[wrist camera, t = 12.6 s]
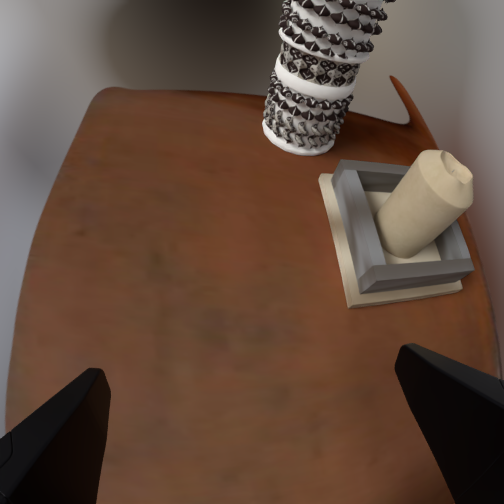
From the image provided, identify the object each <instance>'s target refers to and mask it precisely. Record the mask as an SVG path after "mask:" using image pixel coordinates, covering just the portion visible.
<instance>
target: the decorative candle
mask: <svg viewBox="0 0 504 504" xmlns="http://www.w3.org/2000/svg"><path fill="white" fill-rule="evenodd" d="M382 1H384V0H287V1H284V2H283V3H282V6H283V7H282V12H283V13H284V14H283V15H282V16H281V17H280V19H281V20H280V21H279V25H280V27H281V28H280V30H279V34H280V36H281V38H282V39H283V43H282V45H281V53H280V55H279V56H278V58H277V61H276V67H275V69H273V71H272V75H270V80H271V83H270V87H269V88H268V92H269V94H268V96H267V100H266V101H265V106H266V108H265V111H264V113H263V116H264V120H263V123H262V125H263V130H264V134H265V135H266V136H267V137H268V139H269V140H270V141H271V142H272V143H273V144H274V145H276V146H278V147H279V148H281V149H283V150H284V151H287V152H290V153H293V154H297V155H300V156H316V155H320V154H323V153H326V152H327V151H328V150H329V149H330V148H331V147H332V146H333V145H334V140H335V139H336V138H335V134H339V129H340V126H339V124H343V123H344V121H343V119H342V117H344V116H345V112H347V111H348V109H349V108H348V105H349V104H350V101H352V99H353V95H352V92H353V89H354V86H355V84H356V75H357V73H358V70H359V68H360V64H361V63H363V62H365V61H367V60H368V59H369V52H371V51H373V48H374V45H373V44H372V43H371V42H370V40H369V37H370V35H379V34H380V33H381V32H382V29H381V27H380V26H379V25H378V23H375V21H376V19H377V21H380V20H381V21H382V20H383V21H384V20H386V19H387V14H386V13H385V12H384V11H383V9H381V10H380V7H381V4H382ZM395 1H396V0H385V3H386V2H387V3H388V2H395ZM287 20H288V22H287ZM338 118H339V119H338Z"/></svg>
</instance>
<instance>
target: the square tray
mask: <svg viewBox="0 0 504 504" xmlns="http://www.w3.org/2000/svg"><path fill="white" fill-rule="evenodd" d="M409 169H410V166H402V165H394V164H385V163H375V162H365V161H354V160H342V159H341V160H340V162H339V164H338V166H337V168H336V170H335V172H334V174H321V175H320V177H319V184H320V188H321V192H322V195H323V199H324V203H325V207H326V211H327V215H328V219H329V223H330V227H331V231H332V235H333V239H334V244H335V248H336V252H337V257H338V261H339V266H340V271H341V276H342V280H343V285H344V290H345V295H346V301H347V306H348V308H356V307H365V306H372V305H380V304H387V303H395V302H402V301H408V300H415V299H421V298H427V297H434V296H439V295H445V294H451V293H456V292H458V291H460V290H462V289H463V288H462V285H461V281H460V279H462V278H463V277H465V276H466V275H468V274H469V273H471V272H472V271H474V270H475V269H474V266H473V263H472V260H471V257H470V254H469V251H468V248H467V245H466V243H465V240H464V237H463V235H462V232H461V229H460V227H459V224H458V222H457V219H456V220H455V221H454V222H453V223H452V224H451V225H450V226H448V227H447V228H446V229H445V230H444V231H443V232H442V233H441V234H440V235H438V236H437V237H436V238H435V239H434V240H433V241H432V242H431V243H429V244H428V245H427V246H426V247H425V248H424V249H422V250H421V251H420V252H419V253H418V254H416V255H415V256H413V257H411V258H398V257H396V256H393V255H392V254H390V253H389V252H387V251H386V250H385V249H384V248H383V247H382V246H381V244H380V240H379V237H378V234H377V230H376V227H375V224H374V218H375V216H376V214H377V212H378V211H379V209H380V208H381V207H382V205H383V204H384V203H385V201H386V200H387V199H388V197H389V196H390V195H391V193H392V192H393V191H394V189H395V188H396V187H397V185H398V184H399V183H400V181H401V180H402V178H403V177H404V176H405V174H406V173H407V172H408V170H409Z"/></svg>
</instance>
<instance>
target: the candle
mask: <svg viewBox="0 0 504 504" xmlns="http://www.w3.org/2000/svg"><path fill="white" fill-rule="evenodd" d="M472 202H473V175H472V174H471V172H470V171H469V169H468V168H467V167H466V166H463V165H462V164H460V163H459V162H458V161H457V160H456V159H455V158H454V157H453V156H452V155H451V154H450V153H448V152H446V151H443V150H441V151H440V150H425V151H423V152H421V153H420V155H419V156H418V157H417V159H416V160H415V162H414V163H413V165H412V166H411V167H410V169H409V170H408V172H407V173H406V174H405V176H404V177H403V178H402V180H401V181H400V183H399V184H398V185H397V187H396V188H395V189H394V191H393V192H392V193H391V195H390V196H389V197H388V199H387V200H386V201H385V203H384V204H383V205H382V207H381V208H380V209H379V211H378V212H377V214H376V216H375V218H374V224H375V227H376V230H377V234H378V237H379V240H380V244H381V246H382V247H383V248H384V249H385V250H386V251H387V252H389V253H390V254H392V255H393V256H396V257H398V258H411V257H413V256H415V255H416V254H418V253H419V252H420V251H421V250H422V249H424V248H425V247H426V246H427V245H428V244H429V243H431V242H432V241H433V240H434V239H435V238H436V237H437V236H438V235H440V234H441V233H442V232H443V231H444V230H445V229H446V228H447V227H448V226H450V225H451V224H452V223H453V222H454V221H455V220H456V219H457V218H458V217H459V216H460V215H461V214H462V213H463V212H464V211H465V210H467V209H468V208H469V206H471V204H472Z"/></svg>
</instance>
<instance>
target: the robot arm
mask: <svg viewBox="0 0 504 504" xmlns="http://www.w3.org/2000/svg"><path fill="white" fill-rule="evenodd" d="M395 372H396V375H397V377H398V380H399V382H400V385H401V387H402V390H403V392H404V395H405V397H406V400H407V402H408V405H409V407H410V409H411V411H412V413H413V415H414V417H415V419H416V421H417V423H418V425H419V427H420V429H421V431H422V433H423V435H424V437H425V439H426V441H427V443H428V445H429V447H430V449H431V451H432V453H433V455H434V457H435V459H436V462H437V464H438V466H439V468H440V470H441V472H442V474H443V477H444V479H445V481H446V483H447V485H448V488H449V490H450V492H451V494H452V497H453V499H454V501H455V504H504V380H501V379H498V378H496V377H494V376H491V375H489V374H486V373H484V372H481V371H479V370H476V369H474V368H472V367H469V366H467V365H464V364H462V363H460V362H457V361H455V360H452V359H450V358H448V357H445V356H443V355H440V354H438V353H436V352H433V351H431V350H429V349H426V348H424V347H422V346H419V345H417V344H415V343H409V344H405V345H403V346H402V347H401V348H400V350H399V354H398V357H397V360H396V363H395ZM110 399H111V391H110V387H109V385H108V382H107V379H106V376H105V373H104V371H103V370H102V369H100V368H88V369H87V370H86V371H84V372H83V373H82V374H80V375H79V376H78V377H77V378H75V379H74V380H73V381H72V382H70V383H69V384H68V385H67V386H65V387H64V388H63V389H62V390H60V391H59V392H58V393H57V394H55V395H54V396H53V397H52V398H50V399H49V400H48V401H47V402H45V403H44V404H43V405H42V406H40V407H39V408H38V409H37V410H35V411H34V412H33V413H32V414H31V415H29V416H28V417H27V418H26V419H24V420H23V421H22V422H21V423H19V424H18V425H17V426H16V427H14V428H13V429H12V430H11V432H10V431H9V432H8V433H7V434H6V435H4V436H3V437H2V438H1V439H0V504H96V500H97V493H98V486H99V480H100V474H101V468H102V462H103V457H104V451H105V446H106V440H107V431H108V419H109V409H110Z"/></svg>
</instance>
